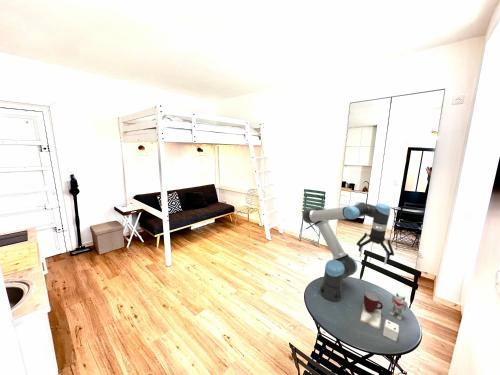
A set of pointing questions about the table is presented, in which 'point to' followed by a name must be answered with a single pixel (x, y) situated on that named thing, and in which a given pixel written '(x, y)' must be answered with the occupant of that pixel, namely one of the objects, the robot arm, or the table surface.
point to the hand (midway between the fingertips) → (372, 259)
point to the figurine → (398, 305)
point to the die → (391, 330)
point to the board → (371, 317)
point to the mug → (371, 301)
